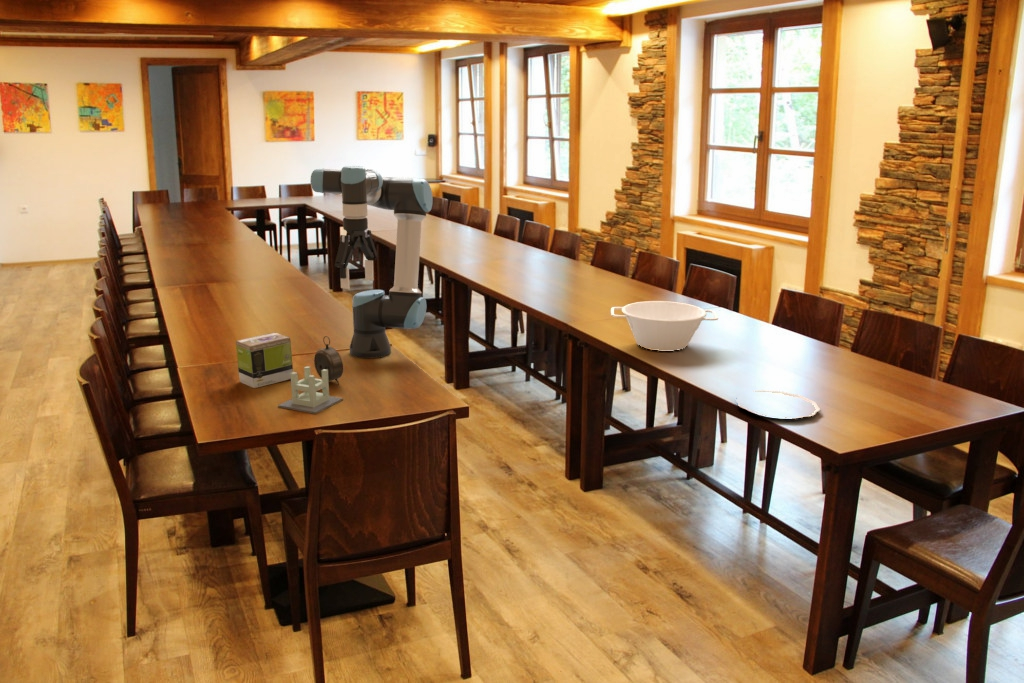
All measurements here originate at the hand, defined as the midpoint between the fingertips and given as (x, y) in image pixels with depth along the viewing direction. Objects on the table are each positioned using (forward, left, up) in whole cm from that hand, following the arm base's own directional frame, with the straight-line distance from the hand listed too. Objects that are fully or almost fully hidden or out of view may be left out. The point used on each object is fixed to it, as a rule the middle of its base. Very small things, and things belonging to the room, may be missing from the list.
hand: (357, 284), depth 281 cm
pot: (-94, +75, -35) cm, 125 cm away
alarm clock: (0, -13, -35) cm, 37 cm away
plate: (-40, +126, -35) cm, 137 cm away
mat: (+19, -6, -35) cm, 40 cm away
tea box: (+7, -33, -35) cm, 49 cm away
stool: (+19, -6, -34) cm, 39 cm away
